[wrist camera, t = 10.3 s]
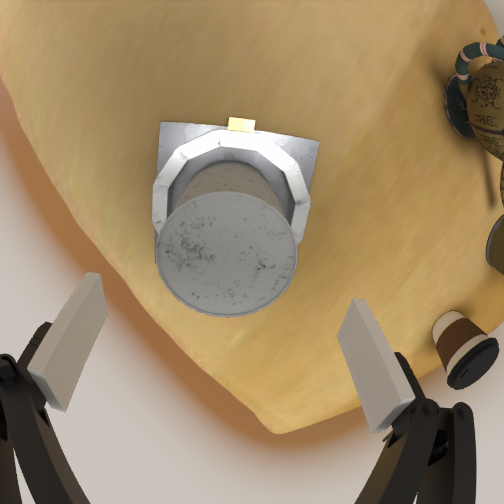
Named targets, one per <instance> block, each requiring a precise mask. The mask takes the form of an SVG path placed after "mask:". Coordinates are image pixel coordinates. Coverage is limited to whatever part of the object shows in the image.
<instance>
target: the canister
mask: <svg viewBox="0 0 504 504" xmlns="http://www.w3.org/2000/svg"><path fill="white" fill-rule="evenodd" d="M486 257H487V261H488V263H489V265H491V266H492V267H495V268H496V269H497V270H498V271H500V272H501V273H502V274H503V275H504V215H503V216H501V218H500V219H499V220H498V221H497V222H496V224H495V225H494V227H493V229H492V231H491V234H490V236H489V239H488V243H487V248H486Z"/></svg>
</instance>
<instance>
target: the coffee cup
mask: <svg viewBox="0 0 504 504" xmlns="http://www.w3.org/2000/svg"><path fill="white" fill-rule="evenodd" d="M432 332H433V339H434V341H435V344H436V349H437V351H438V354H439V356H440V359H441V361H442V364H443V366H444V368H445V371H446V373H447V374H448V379H447V384H448V385H449V386H450V387H451V388H454V389H455V390H459V389H464V388H466V387H468V386H470V385H471V384H473V383H474V382H476V381H477V380H479V379H480V378H481V377H482V376H483V375H484V374H485V373H486V372H487V371H488V370H489V369H490V367H491V366H492V365H493V364H494V362H495V360H496V358H497V356H498V353H499V347H498V342H497V340H496V338H489V337H488V336H487V334H486V333H485V332H484V331H482V330H481V329H480V328H479V327H478V326H476V325H475V324H474V323H473V322H472V321H470V320H469V319H468V318H465V317H464V316H463V315H462V314H460V313H459V312H456V311H449V312H447V313H445V314H444V315H442V316H441V317H440V318H439V319H438V320H437V322H436V323H435V324H434V327H433V329H432Z"/></svg>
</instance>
